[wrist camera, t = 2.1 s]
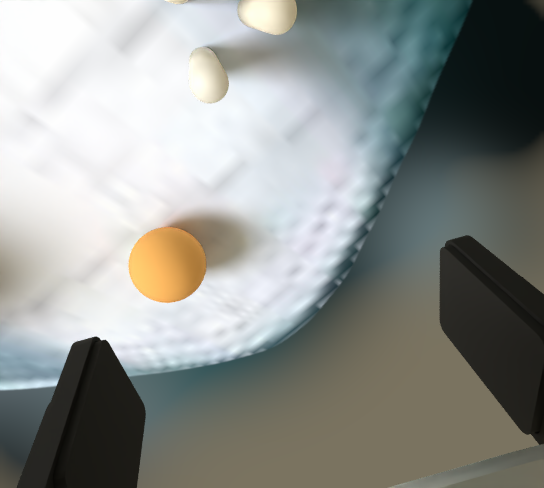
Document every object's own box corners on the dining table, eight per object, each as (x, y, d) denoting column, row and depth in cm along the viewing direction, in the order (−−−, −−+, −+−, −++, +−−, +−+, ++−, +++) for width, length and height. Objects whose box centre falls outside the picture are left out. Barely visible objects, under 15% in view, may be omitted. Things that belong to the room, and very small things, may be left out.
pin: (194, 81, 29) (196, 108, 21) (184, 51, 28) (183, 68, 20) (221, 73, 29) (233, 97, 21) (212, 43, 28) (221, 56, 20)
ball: (150, 283, 37) (143, 327, 31) (121, 227, 33) (108, 266, 28) (214, 263, 37) (218, 304, 32) (191, 205, 34) (191, 241, 28)
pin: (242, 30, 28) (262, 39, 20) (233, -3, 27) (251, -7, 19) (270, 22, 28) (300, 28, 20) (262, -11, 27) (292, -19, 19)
